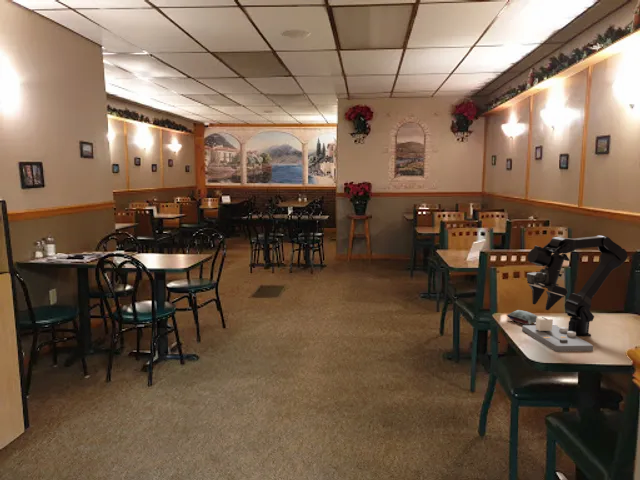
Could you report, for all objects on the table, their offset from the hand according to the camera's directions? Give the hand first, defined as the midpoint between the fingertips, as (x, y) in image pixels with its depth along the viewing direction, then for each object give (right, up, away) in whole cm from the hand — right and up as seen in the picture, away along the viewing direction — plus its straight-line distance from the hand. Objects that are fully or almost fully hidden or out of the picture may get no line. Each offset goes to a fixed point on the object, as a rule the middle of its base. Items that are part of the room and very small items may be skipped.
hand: (540, 307), depth 187 cm
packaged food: (+2, -10, +19) cm, 22 cm away
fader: (+2, -9, +1) cm, 9 cm away
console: (+4, -12, -3) cm, 13 cm away
